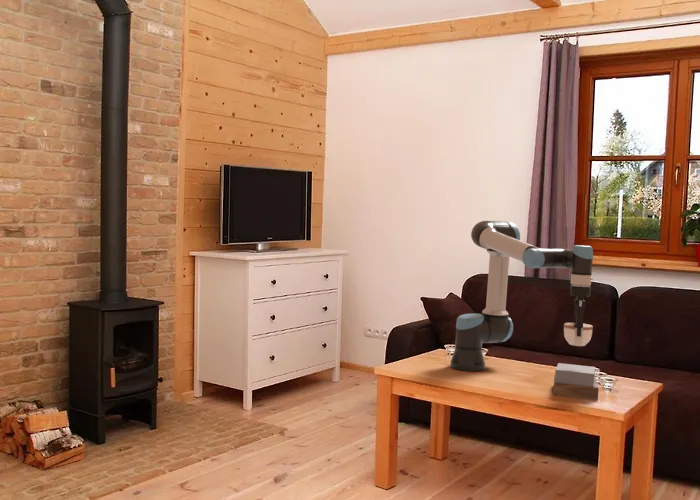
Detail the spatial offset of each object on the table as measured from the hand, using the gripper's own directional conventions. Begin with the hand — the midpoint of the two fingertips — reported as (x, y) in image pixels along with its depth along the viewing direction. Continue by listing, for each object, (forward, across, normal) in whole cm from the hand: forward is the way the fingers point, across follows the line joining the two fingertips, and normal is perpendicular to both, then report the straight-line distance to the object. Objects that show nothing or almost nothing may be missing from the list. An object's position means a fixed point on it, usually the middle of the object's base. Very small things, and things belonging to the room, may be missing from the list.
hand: (577, 342), depth 286 cm
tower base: (+20, 0, 0) cm, 20 cm away
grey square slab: (+15, 0, 0) cm, 15 cm away
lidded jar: (+1, 0, 0) cm, 1 cm away
